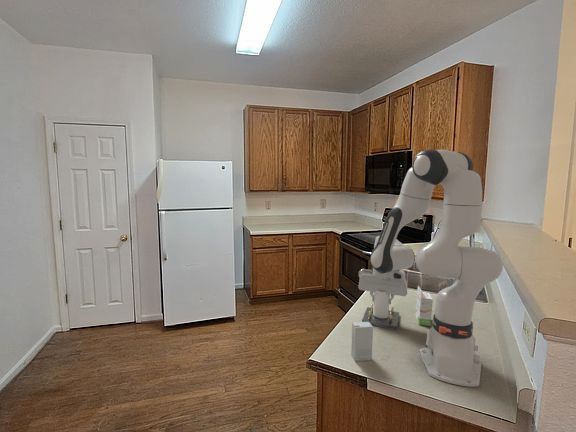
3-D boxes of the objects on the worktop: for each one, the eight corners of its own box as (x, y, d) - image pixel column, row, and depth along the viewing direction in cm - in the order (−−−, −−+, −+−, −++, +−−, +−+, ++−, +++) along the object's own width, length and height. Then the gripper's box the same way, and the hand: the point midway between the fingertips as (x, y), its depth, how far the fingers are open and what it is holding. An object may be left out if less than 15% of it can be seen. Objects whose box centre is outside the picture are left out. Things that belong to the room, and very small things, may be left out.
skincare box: (367, 354, 112) (369, 320, 110) (372, 361, 107) (374, 326, 106) (350, 354, 111) (351, 321, 110) (354, 362, 107) (355, 327, 105)
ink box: (431, 326, 134) (434, 292, 132) (418, 325, 135) (421, 291, 133) (426, 317, 143) (429, 285, 141) (415, 316, 144) (417, 284, 142)
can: (390, 319, 137) (391, 292, 135) (375, 318, 137) (376, 291, 136) (386, 312, 143) (387, 286, 142) (371, 312, 143) (372, 286, 142)
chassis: (396, 329, 131) (397, 319, 130) (361, 323, 136) (362, 313, 135) (398, 315, 144) (399, 305, 144) (367, 310, 150) (367, 300, 149)
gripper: (357, 270, 139) (356, 301, 140) (408, 276, 131) (406, 308, 133) (360, 266, 144) (358, 296, 146) (408, 272, 137) (406, 303, 138)
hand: (381, 302), depth 139 cm, fingers closed on can, 5 cm apart
